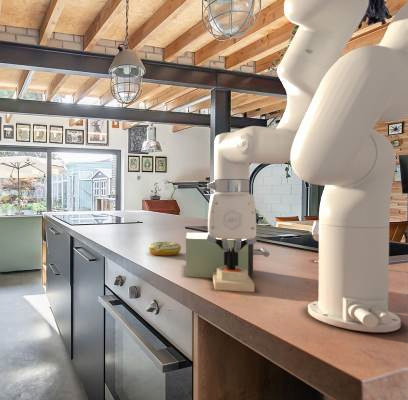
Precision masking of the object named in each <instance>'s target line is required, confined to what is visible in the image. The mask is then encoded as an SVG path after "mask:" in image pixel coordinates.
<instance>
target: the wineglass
mask: <svg viewBox="0 0 408 400" xmlns="http://www.w3.org/2000/svg"><path fill="white" fill-rule="evenodd" d="M311 235H312V238H313V240H314V241H316V242H318V243H319V220H314V221H313V224H312V230H311ZM314 262H315V263H318V264H319V259H315V260H314Z"/></svg>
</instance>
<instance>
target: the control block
mask: <svg viewBox="0 0 408 400" xmlns="http://www.w3.org/2000/svg"><path fill="white" fill-rule="evenodd" d="M224 268H225V267H219V268H217V272H212V278H211V279H212V283H213V287H214V290H216V291H233V292H249V293H250V292H251V293H254V292H255V282H254V281H253V280H252V278H251V277H250V275H248V271H247V270H246V269H243V268H239V267H235V268H239V269H240V272H229V271H224Z"/></svg>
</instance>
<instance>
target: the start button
mask: <svg viewBox="0 0 408 400" xmlns="http://www.w3.org/2000/svg"><path fill="white" fill-rule="evenodd" d="M224 271H229V272H240V269H239V268H235V270H233V269H230V270H228V269H227V267H225V268H224Z"/></svg>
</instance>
